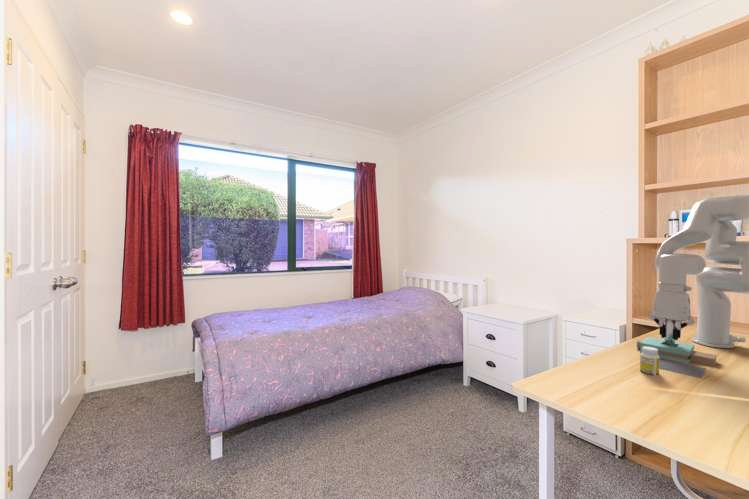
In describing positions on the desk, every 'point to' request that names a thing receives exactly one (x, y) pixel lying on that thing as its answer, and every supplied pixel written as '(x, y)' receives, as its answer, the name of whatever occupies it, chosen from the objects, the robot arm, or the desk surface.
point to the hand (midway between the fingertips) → (669, 337)
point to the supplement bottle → (649, 361)
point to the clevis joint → (678, 351)
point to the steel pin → (669, 332)
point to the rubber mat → (681, 368)
